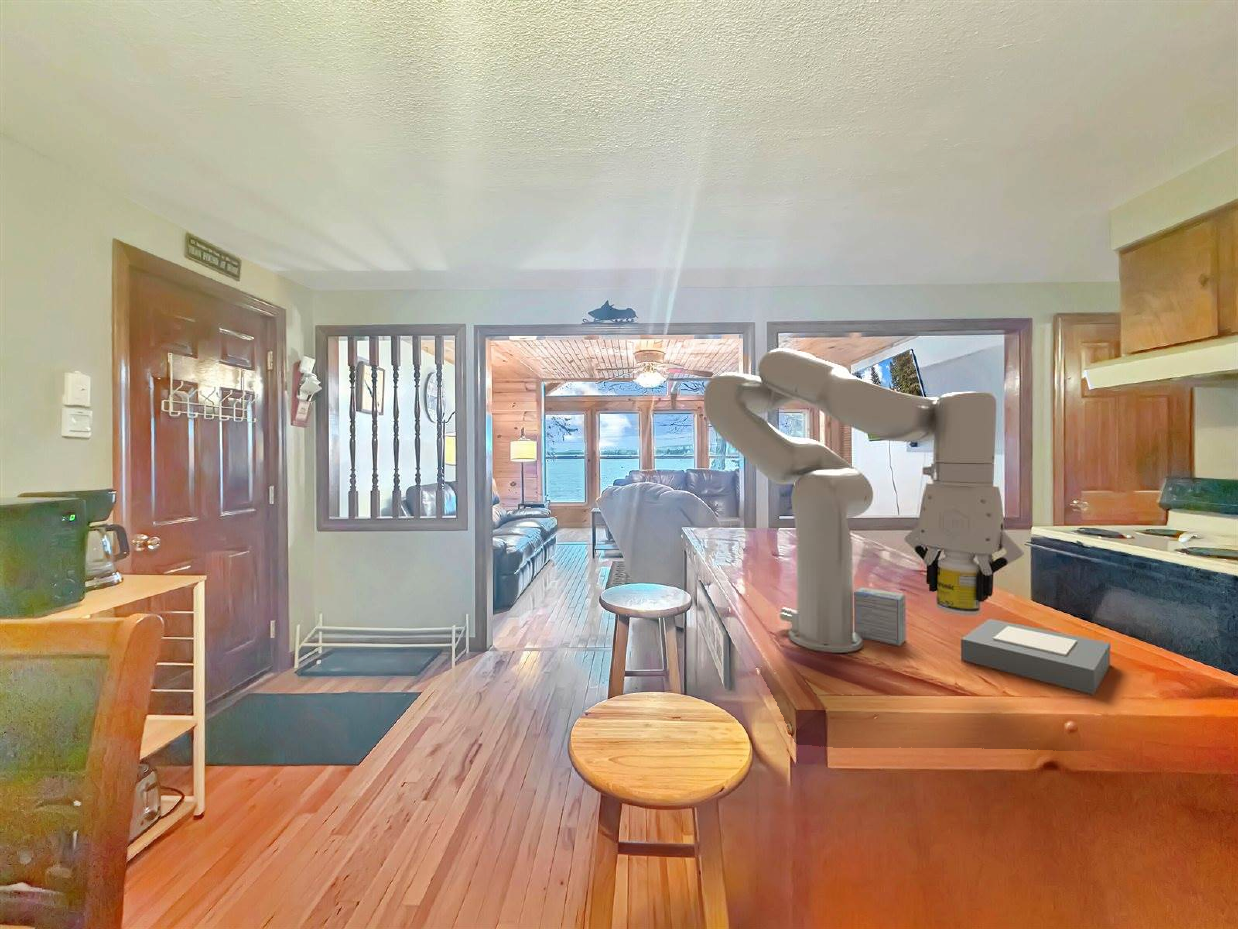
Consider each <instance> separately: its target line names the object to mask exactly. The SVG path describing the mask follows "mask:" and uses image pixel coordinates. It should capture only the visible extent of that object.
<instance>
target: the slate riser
mask: <svg viewBox="0 0 1238 929" xmlns="http://www.w3.org/2000/svg"><path fill="white" fill-rule="evenodd" d="M960 660H961V661H965V662H968V663H971V664H976V665H980V666H984V667H988V668H990V669H994V670H995V669H996V670H998V671H1002V672H1007V673H1010V674H1013V675H1017V676H1021V677H1025V678H1029V679H1032V680H1036V681H1040V682H1044V683H1048V684H1052V685H1055V686H1059V687H1063V688H1066V689H1071V690H1075V691H1078V692H1083V693H1086V694H1089V695H1092V696H1094V695H1096V692H1097V691H1098V689H1099V686H1100V685H1101V683H1102V680H1103V679H1104V678H1105V675H1106V674H1107V671H1108V669H1109V668H1110V666H1111V642H1108V641H1102V640H1098V639H1092V638H1087V637H1082V636H1077V635H1072V634H1067V633H1062V632H1057V631H1053V630H1047V629H1043V628H1037V627H1034V626H1028V625H1023V624H1017V623H1013V622H1008V621H1003V620H999V619H998V620H997V619H993V618H989V619H987V620H985V621H984V622H983V623H981V624H980V625H978V627H977V626H976V628H974V629H973V630H972V631H970V632H968V633H967V634H966V635H965V636H963V637H961V639H960Z"/></svg>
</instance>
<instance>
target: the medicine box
mask: <svg viewBox="0 0 1238 929" xmlns="http://www.w3.org/2000/svg"><path fill="white" fill-rule="evenodd" d="M906 619H907V616H906V595H905V593H900V592H894V591H888V590H883V589H882V590H880V589H877V588H876V589H874V588H868V587H860V588H857V589H856V590H855V591H854V592H853V631H854V632H856V633H857V634H859V635H860V636H861V638H862V639H867V640H871V641H876V642H881V643H885V644H890V645H894V646H898V647H901V646H902V645H903V643H904V642H905V641H906V639H907V623H906V622H907V620H906Z"/></svg>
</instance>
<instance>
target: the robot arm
mask: <svg viewBox="0 0 1238 929" xmlns="http://www.w3.org/2000/svg"><path fill="white" fill-rule="evenodd" d="M757 373H758V375H752V374H747V373H739V372H724V373H721V374H717V375H715V376H713V378H711V379H710V380H709V381H708V382H707V385H706V387H705V390H704V393H703V395H704V396H703V405H704V406H703V407H704V410H705V414H706V418H707V420H708V422H709V423H710V425H711V427H712V428H713V429H714V431H715V432H716V433H717V434H718V435H719V436H720V437H721V438H722V439H723V440H725V442H726V443H728V444H729V445H730V446H732V447H733V448H734V449H735V450H737V452H738V453H740V454H741V455H742V457H744V458H745V460H747V461H748V462H749V463H750V464H752V465H753V466H754V467H755V468H756V470H758V471H759V472H760V473H762V475H764V476H765V477H766V478H767V479H768V480H770V481H771V482H773V483H774V484H778V485H793V487H792V491H791V495H790V496H791V500H790V501H791V508H792V513H793V518H794V525H795V534H796V535H795V536H796V537H795V538H796V596H797V597H796V605H797V606H796V610H794V609H793V608H791V607H790V608H789V607H785V606H784V607H782V608H781V611H780V614H779V618H780V620H782V621H786V622H790V623H791V627H790V628H789V629H788V638H789V640H790V641H792V642H793V643H794V644H796V645H798V646H801V647H803V648H805V649H809V650H813V651H817V652H825V653H836V654H838V653H839V654H842V653H844V654H845V653H852V652H856V651H859V650H860V649H861V648H862V647H863V638H861V636H860V635H859V634H857V633H856V632H854V592H853V591H854V589H853V588H854V587H853V583H854V582H853V578H854V577H853V574H854V573H853V565H854V564H853V562H854V560H853V540H852V536H851V530H850V528H849V527H850V526H849V523H848V519H850V518H855V517H857V516H860V515H862V514H864V513H865V512H867V510H869V508H870V506H872V502H873V498H874V491H873V490H874V489H873V486H872V484H871V483H870V481H869V479H868V478H867V477H866V476H865V474H863V473H862V472H861V471H860V470H858V469H857V468H856V467H854V466H853V465H852V464H851V463H849V462H848V461H846V460H845V459H844V458H842V457H841V456H840V455H838V454H837V453H836V452H834V451H833V450H831V449H830V448H829V447H827V446H826V445H825V444H823V443H821V442H819V441H817V440H815V439H811V438H808V437H794V436H789V435H786V434H785V433H783V432H781V431H780V430H778V429H777V428H776V427H774V425H772V424H771V423H770V422H768V421H767V420H766V419H765V418H763V417H761V416H760V415H762V414H766V413H769V412H772V411H774V410H776V409H778V408H781V407H782V406H785V405H788V404H790V403H793V402H794V401H798V402H800V403H802V404H804V405H807V406H809V407H811V408H814V409H816V410H818V411H820V412H822V413H823V414H824V415H827V416H829V417H831V418H832V419H834V420H835V421H838V422H840V423H842V424H844V425H846V426H849V427H851V428H854V429H855V430H858V431H860V432H862V433H864V434H866V435H869V436H872V437H875V438H876V439H880V440H884V441H888V442H889V441H890V442H904V443H921V442H930V441H933V453H932V454H933V455H932V457H933V458H932V462H931V465H929V466H923V467H922V474H923V476H928V477H930V479H931V481H932V482H926V483H925V486H924V489H923V494H922V498H921V502H920V510H919V516H918V525H917V526H916V527H915V528H914V529H913V530H911V531H910V532H909V533H908V534H906V535H905V537H904V541H905V542H906V543H907V544H908V545H909V546H910V547H911V549H913V550H914V551H915V553H916V554H917V555H918V556H919V557H920V559H922V560H923V563H924V565H926V575H925V576H926V578H925V582H926V584H927V585H928V587H929V588H928V590H929V592H932V593H934V592H937V576H938V562H939V560H940V559H941V558H940V557H941V556H942V554H943V553H944V552H943V551H944V550H947V551H953V552H960V553H967V554H974V555H976V559H977V563H979V565H980V568H981V570H980V574H978V575H977V589H976V600H978V601H979V602H980V603H984V602H985V601H987V600H988V599H989V597H992V596H993V593H994V592H993V591H994V573H996V572H998V571H999V570H1001V569H1003V568H1004V567H1006V566H1007V565H1009V564H1011V563H1013V562H1015V561H1017V560H1019V559H1020V558H1022V557H1023V556H1024V555H1025V552H1024V551H1023V550H1022V549H1021V548H1020V546H1018V545H1017V543H1015V542H1014V541H1013V539H1012V538H1011V537H1010V536H1009V535H1008V534H1007V533H1006V532H1005V521H1004V512H1003V511H1004V509H1003V502H1002V501H1003V500H1002V496H1001V495H1002V494H1001V491H1000V487H999V485H994V478H995V452H996V451H995V449H996V429H997V428H996V427H997V400H996V398H995V396H994V395H993V394H992V393H989V392H984V391H962V392H961V391H960V392H951V393H946V394H942V395H941V396H939V397H927V396H926V397H925V396H920V395H914V394H910V393H906V392H905V393H903V392H900V391H896V390H892V389H889V388H888V387H884V386H881V385H878V384H874V383H872V382H870V381H866V380H864V379H861V378H859V377H856V376H854V375H852V374H850V371H849V370H848V368H845V367H844V366H842V365H838V364H835V363H832V362H829V361H825V360H823V359H820V358H816V357H815V356H814V355H812V354H810V353H807V352H802V351H799V350H795V349H791V348H783V347H781V348H779V347H778V348H775V349H772V350H770V351H768V352H767V353H765V354H764V355H763V356H762V358H760V361H759V364H758V368H757ZM1003 549H1004V550H1005V552H1006V553H1005V554H1004V555H1002V556H1000V557H999V558H997V559H994V555H993V554H995V553H997V552H1000V551H1002V550H1003Z"/></svg>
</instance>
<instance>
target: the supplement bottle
mask: <svg viewBox="0 0 1238 929" xmlns="http://www.w3.org/2000/svg"><path fill="white" fill-rule="evenodd" d="M942 553H943V555H945V556H944V557H942V558H939V562H938V576H937V591H936V606H937V608H938V609H939V610H941V611H944V612H946V613H950V614H954V615H958V616H976V615H979V614H980V612H981V610H980V609H981V602H979V601H978V600H976V589H977V575H978V574H980V570H981V568H980V565H979V562H978V561H977V562H976V561H975V558H977V556H976V555H974V554H967V553H960V552H953V551H947V550H943V552H942Z"/></svg>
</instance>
